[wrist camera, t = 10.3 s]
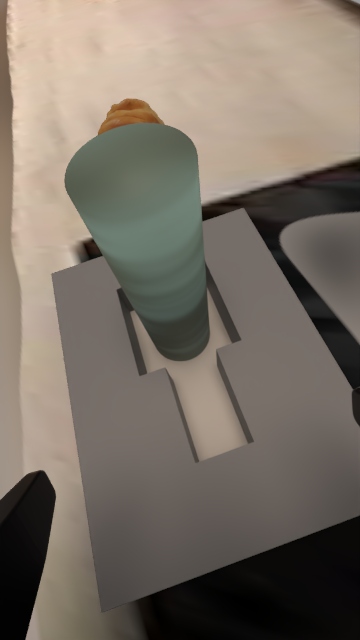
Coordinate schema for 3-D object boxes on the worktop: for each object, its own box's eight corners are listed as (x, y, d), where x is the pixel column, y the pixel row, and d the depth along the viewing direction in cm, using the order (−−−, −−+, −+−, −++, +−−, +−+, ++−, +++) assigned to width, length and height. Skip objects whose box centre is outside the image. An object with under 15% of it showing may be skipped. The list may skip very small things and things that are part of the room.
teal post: (221, 339, 20) (226, 168, 8) (172, 372, 19) (100, 240, 7) (188, 298, 21) (152, 107, 10) (142, 327, 21) (45, 162, 9)
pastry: (153, 193, 28) (144, 156, 25) (88, 194, 29) (70, 159, 26) (168, 131, 32) (161, 91, 28) (109, 134, 33) (96, 96, 30)
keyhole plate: (371, 485, 16) (415, 494, 12) (128, 576, 16) (101, 612, 12) (239, 245, 24) (243, 207, 20) (77, 301, 23) (51, 273, 20)
